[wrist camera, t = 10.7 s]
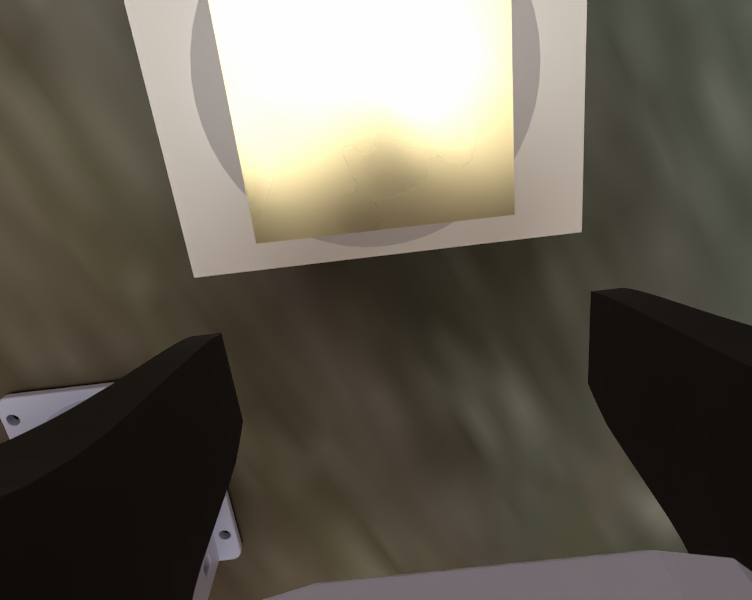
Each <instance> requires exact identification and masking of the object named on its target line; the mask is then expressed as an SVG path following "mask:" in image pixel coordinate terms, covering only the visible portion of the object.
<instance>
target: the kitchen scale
mask: <svg viewBox="0 0 752 600" xmlns="http://www.w3.org/2000/svg"><path fill="white" fill-rule="evenodd" d="M124 3H125V7H126V11H127V15H128V19H129V22H130V26H131V30H132V34H133V38H134V42H135V46H136V50H137V54H138V58H139V62H140V66H141V70H142V74H143V78H144V82H145V86H146V90H147V93H148V97H149V101H150V105H151V109H152V113H153V117H154V121H155V125H156V129H157V133H158V137H159V141H160V145H161V149H162V153H163V157H164V161H165V164H166V168H167V172H168V176H169V180H170V184H171V188H172V192H173V196H174V200H175V204H176V208H177V212H178V216H179V220H180V224H181V228H182V231H183V235H184V239H185V243H186V247H187V251H188V255H189V259H190V263H191V267H192V271H193V275H194V278H196V277H205V276H213V275H222V274H230V273H239V272H247V271H256V270H264V269H273V268H281V267H290V266H298V265H307V264H315V263H323V262H332V261H340V260H349V259H357V258H366V257H374V256H383V255H391V254H400V253H408V252H417V251H425V250H434V249H442V248H451V247H459V246H468V245H476V244H484V243H493V242H501V241H510V240H518V239H527V238H535V237H544V236H552V235H561V234H569V233H578V232H582V196H583V152H584V108H585V63H586V19H587V0H511V14H512V75H513V137H514V199H515V215H508V216H499V217H490V218H481V219H472V220H464V221H455V222H446V223H437V224H428V225H419V226H410V227H401V228H392V229H383V230H374V231H365V232H356V233H347V234H339V235H330V236H321V237H312V238H303V239H294V240H285V241H276V242H267V243H258V244H256V241H255V235H254V230H253V225H252V220H251V215H250V210H249V205H248V200H247V195H246V190H245V185H244V180H243V175H242V169H241V164H240V159H239V154H238V149H237V144H236V139H235V134H234V129H233V124H232V119H231V114H230V108H229V103H228V98H227V93H226V88H225V83H224V78H223V73H222V68H221V63H220V58H219V53H218V47H217V42H216V37H215V32H214V27H213V22H212V17H211V12H210V7H209V2H208V0H124Z"/></svg>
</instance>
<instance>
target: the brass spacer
mask: <svg viewBox="0 0 752 600" xmlns="http://www.w3.org/2000/svg"><path fill="white" fill-rule="evenodd" d="M208 2H209V7H210V12H211V17H212V22H213V27H214V32H215V37H216V42H217V47H218V53H219V58H220V63H221V68H222V73H223V78H224V83H225V88H226V93H227V98H228V103H229V108H230V114H231V119H232V124H233V129H234V134H235V139H236V144H237V149H238V154H239V159H240V164H241V169H242V175H243V180H244V185H245V190H246V195H247V200H248V205H249V210H250V215H251V220H252V225H253V230H254V235H255V241H256V244H258V243H267V242H276V241H285V240H294V239H303V238H312V237H321V236H330V235H339V234H347V233H356V232H365V231H374V230H383V229H392V228H401V227H410V226H419V225H428V224H437V223H446V222H455V221H464V220H472V219H481V218H490V217H499V216H508V215H515V199H514V137H513V75H512V14H511V0H208Z"/></svg>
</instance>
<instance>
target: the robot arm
mask: <svg viewBox="0 0 752 600" xmlns="http://www.w3.org/2000/svg"><path fill="white" fill-rule="evenodd" d="M588 384H589V387H590V389H591V391H592V394H593V396H594V398H595V400H596V403H597V405H598V407H599V409H600V411H601V413H602V415H603V417H604V420H605V422H606V424H607V425H608V427H609V429H610V430H611V432H612V433H613V435H614V436H615V438H616V439H617V441H618V443H619V444H620V446H621V447H622V449H623V450H624V452H625V453H626V455H627V456H628V458H629V459H630V461H631V462H632V464H633V465H634V467H635V468H636V470H637V471H638V473H639V474H640V476H641V477H642V479H643V480H644V482H645V483H646V485H647V486H648V488H649V489H650V491H651V492H652V494H653V495H654V497H655V498H656V500H657V501H658V503H659V504H660V506H661V507H662V509H663V510H664V512H665V513H666V515H667V516H668V518H669V519H670V521H671V523H672V524H673V526H674V528H675V529H676V531H677V533H678V534H679V536H680V538H681V539H682V541H683V543H684V545H685V547H686V549H687V551H688V553H689V554H686V553H676V552H666V551H657V550H640V551H630V552H620V553H610V554H600V555H590V556H580V557H570V558H560V559H550V560H540V561H530V562H520V563H510V564H500V565H490V566H480V567H469V568H459V569H449V570H439V571H429V572H419V573H409V574H399V575H389V576H379V577H369V578H359V579H349V580H339V581H329V582H319V583H314V584H311V585H308V586H305V587H301V588H298V589H295V590H292V591H288V592H285V593H282V594H279V595H275V596H272V597H269V598H266V599H262V600H752V326H750V325H747V324H743V323H740V322H737V321H733V320H730V319H727V318H723V317H720V316H717V315H714V314H711V313H708V312H705V311H702V310H698V309H695V308H692V307H689V306H686V305H683V304H680V303H677V302H674V301H671V300H668V299H665V298H662V297H659V296H655V295H652V294H649V293H645V292H641V291H638V290H633V289H627V288H618V289H609V290H600V291H591V308H590V339H589V369H588ZM12 415H15V416H17V417H18V418H19V419H20V420H17V419H15V418H14V417H13V416H12ZM0 418H1V421H2V423H3V425H4V428H5V430H6V432H7V434H8V437H9V439H10V440H8V441H6V442H3V443H1V444H0V600H208V598H209V594H210V591H211V587H212V584H213V580H214V576H215V573H216V569H217V566H218V562H219V561H221V560H231V559H235V558H237V557H239V555H240V554H241V550H242V543H241V539H240V535H239V532H238V528H237V524H236V521H235V517H234V513H233V510H232V506H231V502H230V499H229V495H228V491H227V488H228V485H229V482H230V479H231V476H232V473H233V470H234V467H235V463H236V458H237V453H238V448H239V442H240V436H241V429H242V423H243V419H242V415H241V411H240V407H239V403H238V399H237V395H236V391H235V387H234V383H233V379H232V375H231V371H230V367H229V362H228V358H227V354H226V350H225V346H224V342H223V338H222V334H221V333H218V334H209V335H200V336H192V337H189V338H186V339H184V340H182V341H180V342H178V343H176V344H175V345H173V346H171V347H169V348H168V349H166V350H165V351H163V352H161V353H160V354H158V355H157V356H155V357H154V358H152V359H150V360H149V361H147V362H146V363H144V364H143V365H141V366H140V367H138V368H137V369H135V370H133V371H132V372H130V373H129V374H127V375H126V376H124V377H123V378H121V379H119V380H118V381H116V382H111V383H102V384H93V385H85V386H76V387H67V388H59V389H50V390H41V391H32V392H24V393H15V394H8V395H5V396H4V397H3V398H1V399H0ZM223 530H225V531H228V532H229V533H225V532H223Z"/></svg>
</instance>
